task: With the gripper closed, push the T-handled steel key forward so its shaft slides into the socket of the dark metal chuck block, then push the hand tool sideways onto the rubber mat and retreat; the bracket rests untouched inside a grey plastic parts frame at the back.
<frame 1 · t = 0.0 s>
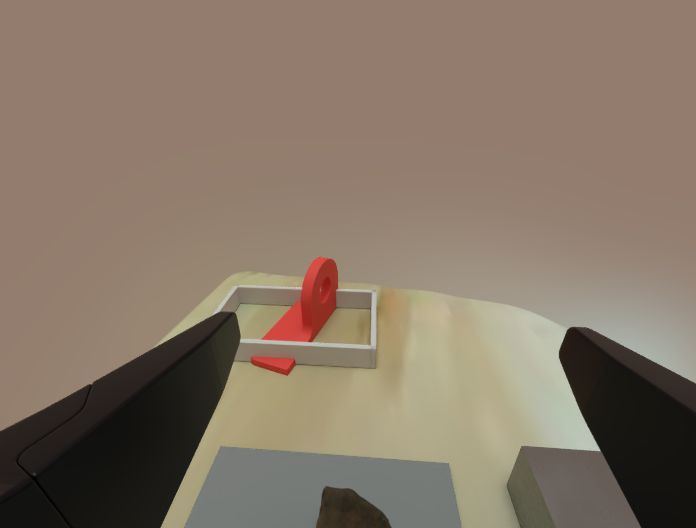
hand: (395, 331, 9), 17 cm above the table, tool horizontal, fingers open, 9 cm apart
mat: (323, 523, 19), on the table
bracket: (298, 334, 35), on the table, touching parts frame
parts frame: (296, 329, 35), on the table
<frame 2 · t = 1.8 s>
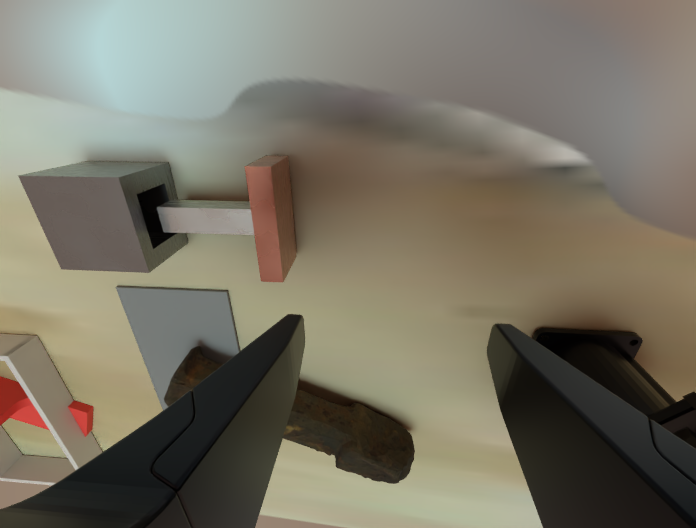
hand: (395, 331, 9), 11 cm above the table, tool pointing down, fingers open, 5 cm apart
mat: (196, 372, 26), on the table
chuck: (139, 204, 20), on the table
bracket: (33, 394, 30), on the table, touching parts frame
key: (225, 217, 17), point 2 cm above the table, slide at 0.0 cm
parts frame: (27, 405, 30), on the table
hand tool: (307, 387, 26), on the table, touching mat
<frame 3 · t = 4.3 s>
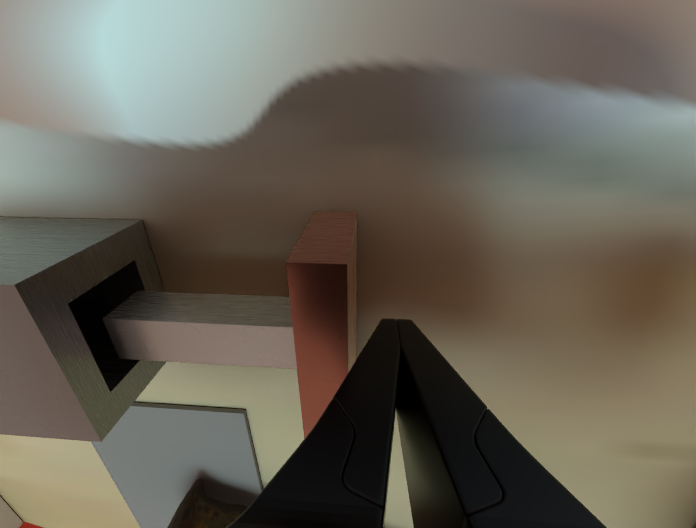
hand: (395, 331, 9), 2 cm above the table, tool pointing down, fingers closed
mat: (196, 504, 18), on the table
chuck: (96, 285, 11), on the table
key: (237, 328, 9), point 2 cm above the table, slide at 0.3 cm, touching gripper
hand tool: (359, 527, 18), on the table, touching mat
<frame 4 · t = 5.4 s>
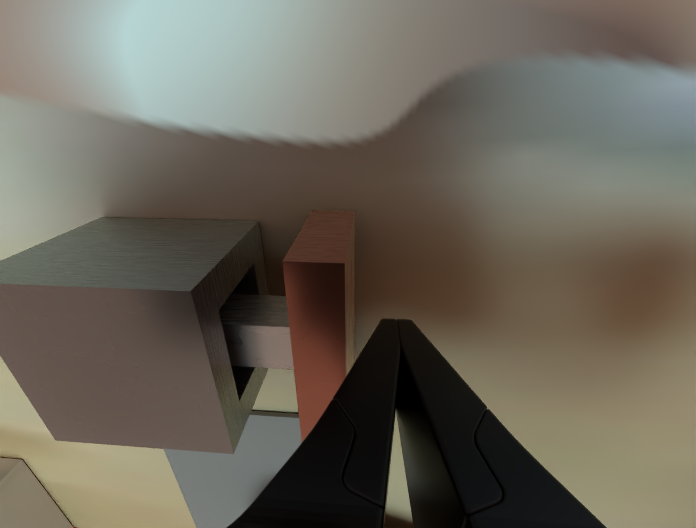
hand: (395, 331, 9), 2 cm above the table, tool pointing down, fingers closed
mat: (262, 511, 17), on the table
chuck: (196, 288, 11), on the table
key: (234, 328, 9), point 2 cm above the table, slide at 4.2 cm, touching gripper
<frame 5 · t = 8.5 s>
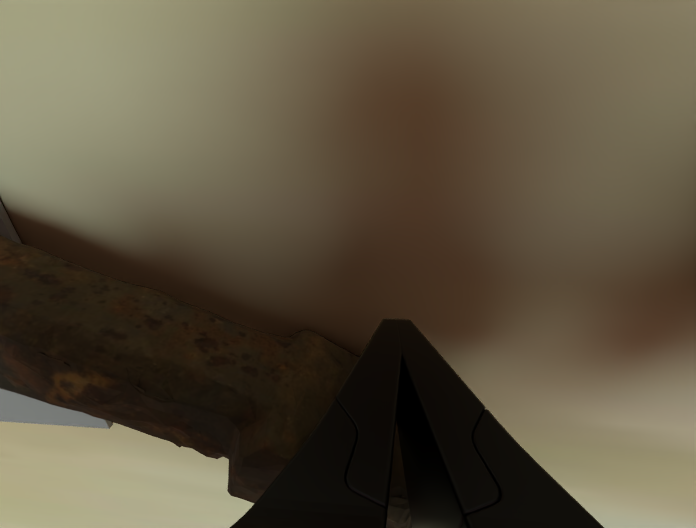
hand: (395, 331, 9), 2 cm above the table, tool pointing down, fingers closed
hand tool: (185, 293, 11), on the table, touching mat
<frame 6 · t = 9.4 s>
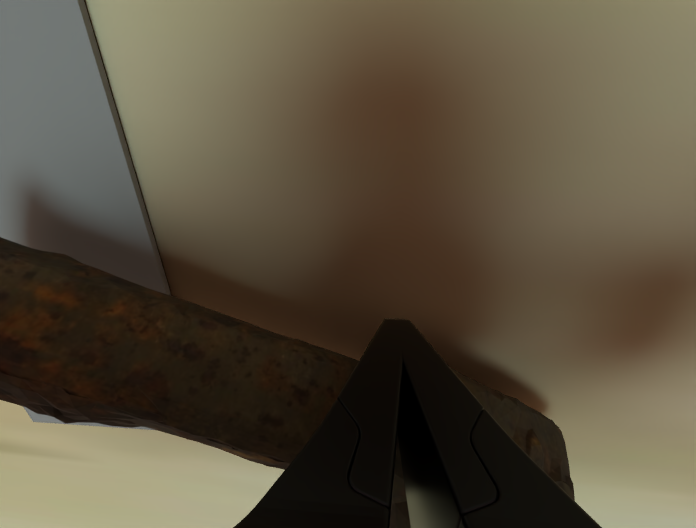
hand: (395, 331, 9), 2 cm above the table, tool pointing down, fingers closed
mat: (44, 261, 11), on the table
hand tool: (311, 318, 10), point 1 cm above the table, touching gripper
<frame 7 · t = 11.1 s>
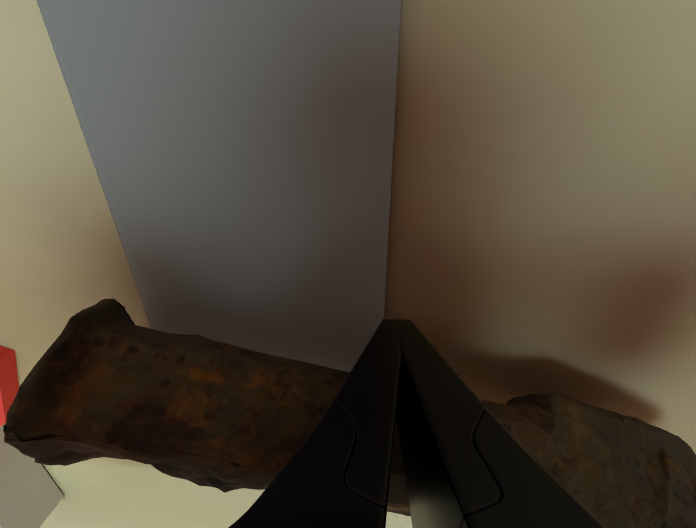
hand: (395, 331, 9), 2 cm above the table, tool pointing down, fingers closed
mat: (257, 273, 10), on the table
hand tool: (415, 362, 10), point 1 cm above the table, touching gripper, mat
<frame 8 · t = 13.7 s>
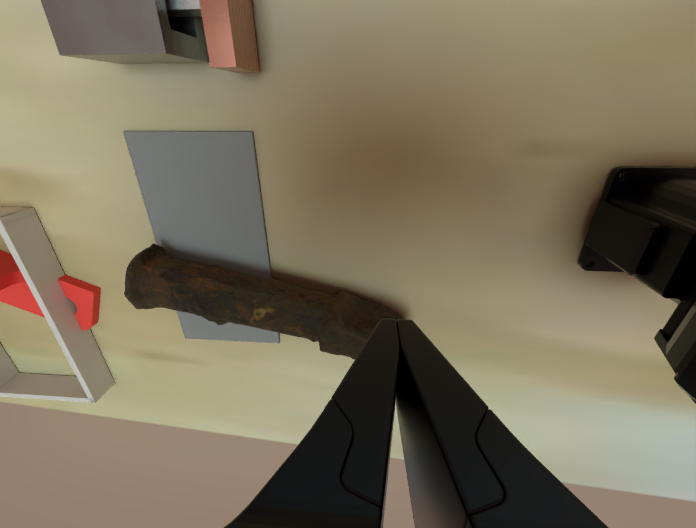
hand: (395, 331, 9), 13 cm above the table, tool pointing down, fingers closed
mat: (213, 251, 23), on the table
chuck: (152, 6, 17), on the table
bracket: (31, 277, 26), on the table, touching parts frame
parts frame: (23, 305, 27), on the table
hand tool: (285, 282, 24), on the table, touching mat
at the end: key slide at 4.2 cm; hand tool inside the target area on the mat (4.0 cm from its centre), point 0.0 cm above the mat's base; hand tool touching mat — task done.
